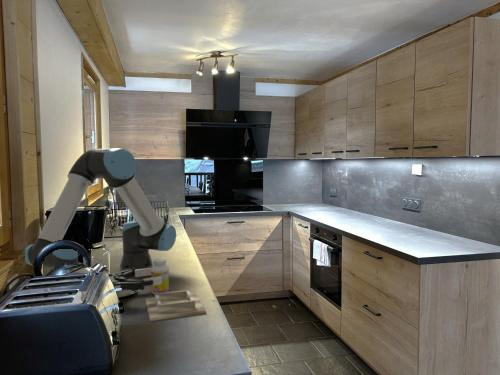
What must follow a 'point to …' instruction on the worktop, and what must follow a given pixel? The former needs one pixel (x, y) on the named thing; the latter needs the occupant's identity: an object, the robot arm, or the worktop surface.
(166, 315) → the holder board
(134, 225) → the robot arm
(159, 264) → the supplement bottle
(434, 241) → the worktop surface
